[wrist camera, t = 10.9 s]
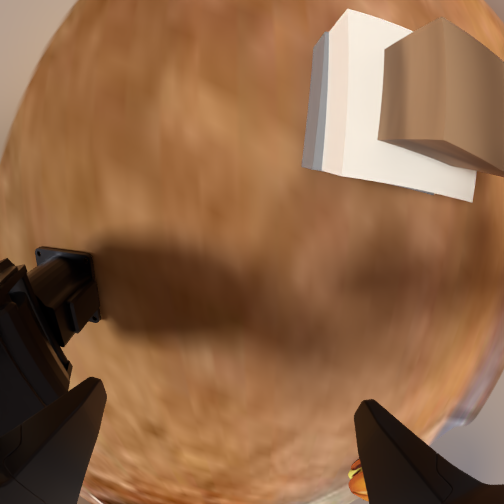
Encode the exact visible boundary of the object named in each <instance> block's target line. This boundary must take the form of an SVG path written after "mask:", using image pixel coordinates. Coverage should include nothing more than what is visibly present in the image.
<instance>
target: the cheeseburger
mask: <svg viewBox="0 0 504 504" xmlns="http://www.w3.org/2000/svg"><path fill="white" fill-rule="evenodd" d="M348 476H349V478H350V479H351V480H350V482H349V484H348V485H349V488H350V490H351V492H352V493H353V494H355V495H357V496H359V497H360V498H362V499H363V500H366V501H369V499H368V494H367V490H366V485H365V481H364V476H363V472H362V467H361V463H360V459H359V460H357V461H356V462H355V463H354V464H353V465H352V466H351V470H350V471H349V473H348Z"/></svg>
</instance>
